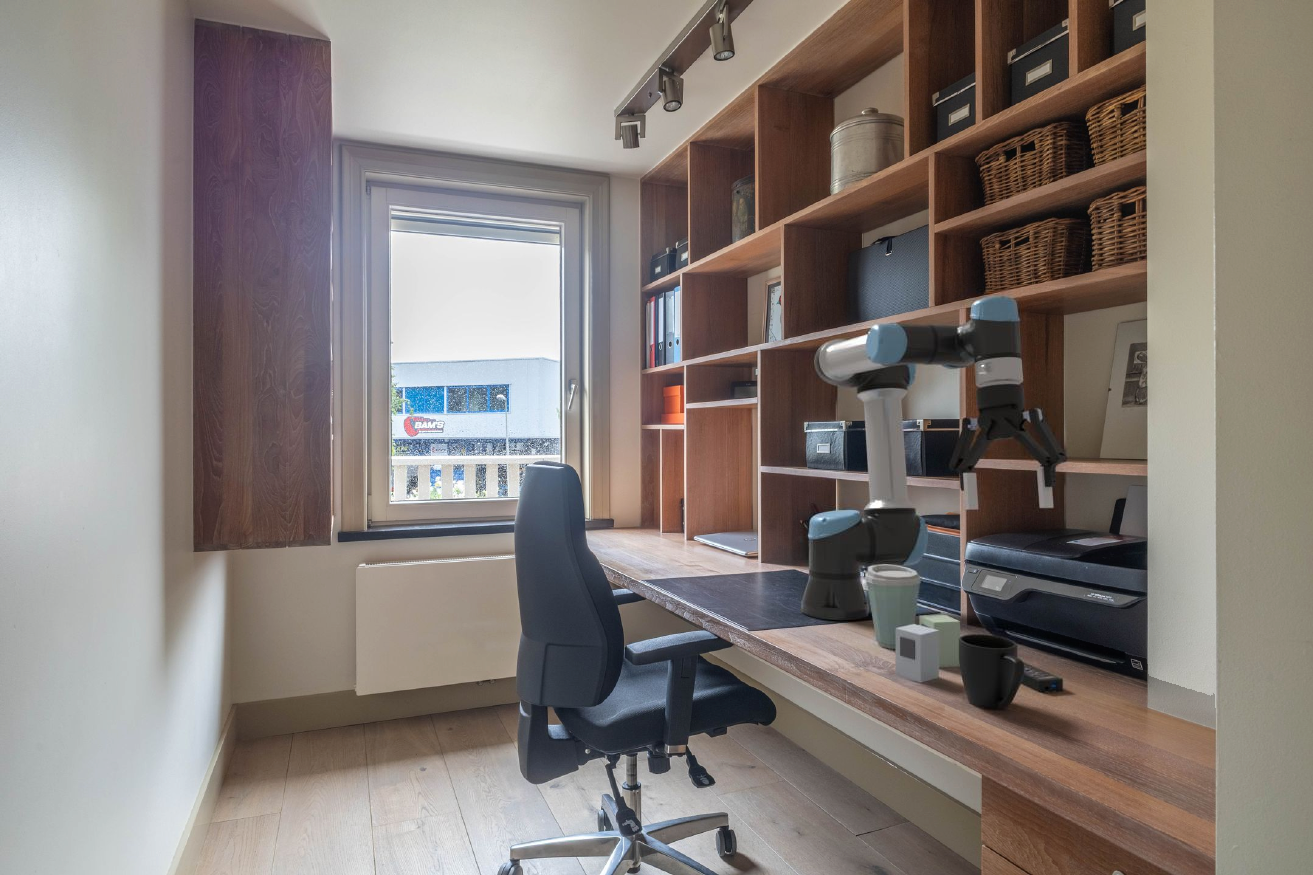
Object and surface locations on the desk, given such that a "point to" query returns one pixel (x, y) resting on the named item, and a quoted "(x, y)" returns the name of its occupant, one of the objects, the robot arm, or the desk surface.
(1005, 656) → the mug
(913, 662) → the block grey
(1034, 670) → the multiport hub
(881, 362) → the robot arm
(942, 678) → the desk surface
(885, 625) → the disposable coffee cup
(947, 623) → the block sage
